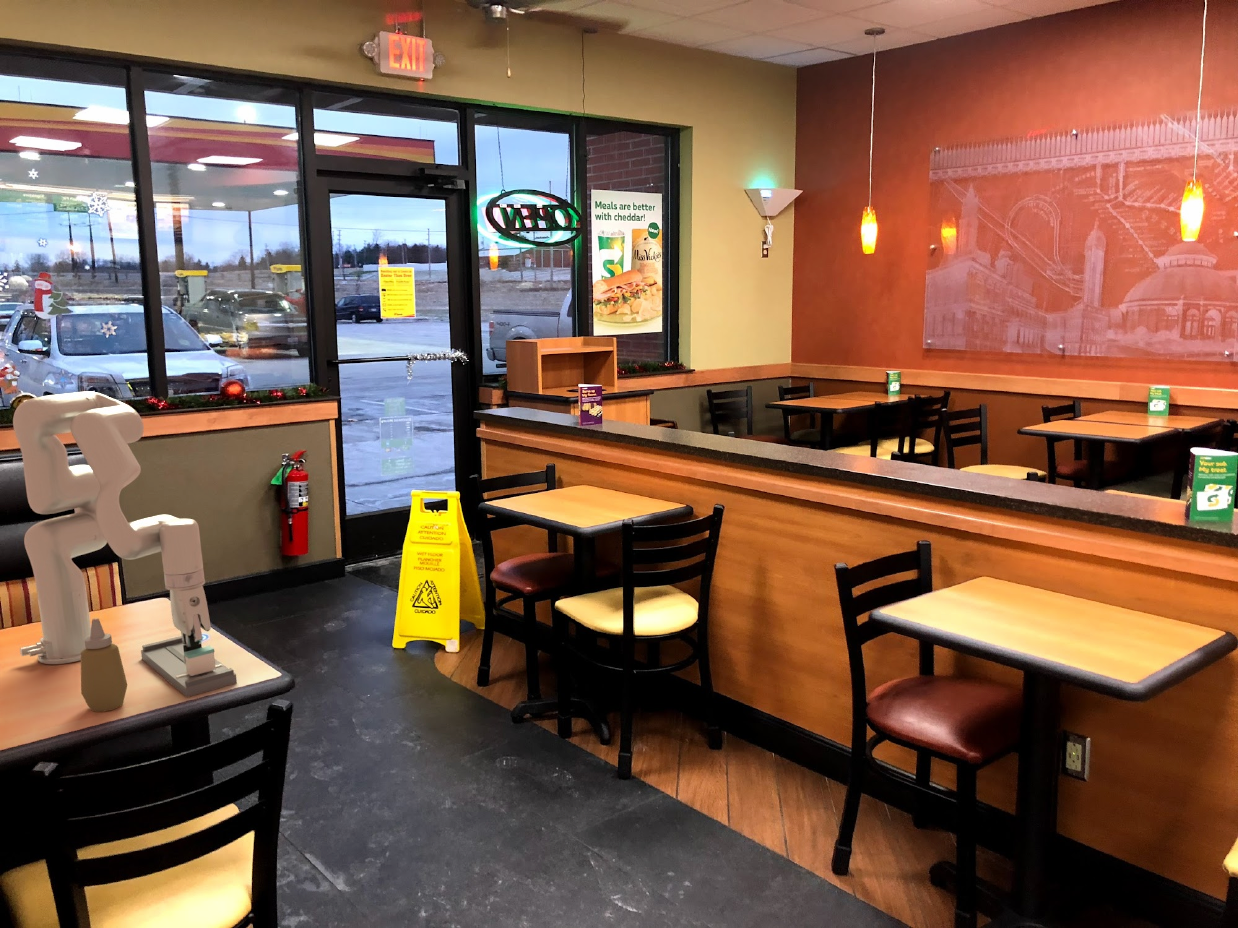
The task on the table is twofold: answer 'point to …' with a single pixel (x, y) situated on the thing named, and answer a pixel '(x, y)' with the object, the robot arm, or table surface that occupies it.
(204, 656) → the fader knob
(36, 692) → the table surface
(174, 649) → the console board
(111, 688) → the squeeze bottle
